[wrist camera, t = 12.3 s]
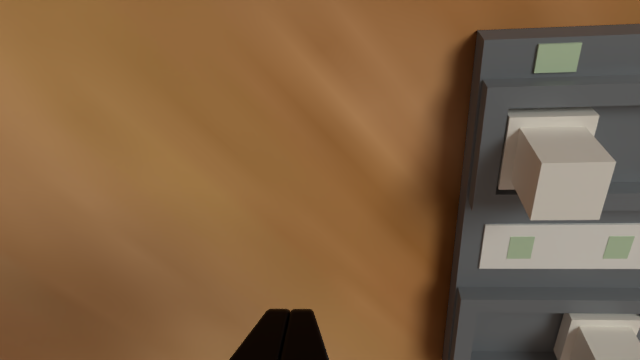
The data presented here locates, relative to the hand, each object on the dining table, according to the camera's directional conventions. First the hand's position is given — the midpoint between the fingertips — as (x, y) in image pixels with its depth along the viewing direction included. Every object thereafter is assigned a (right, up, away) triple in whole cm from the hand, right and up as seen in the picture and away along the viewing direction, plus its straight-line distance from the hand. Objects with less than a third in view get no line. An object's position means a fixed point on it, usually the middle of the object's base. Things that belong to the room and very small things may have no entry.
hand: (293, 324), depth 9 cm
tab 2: (+13, -4, +14) cm, 20 cm away
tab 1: (+9, +4, +9) cm, 14 cm away
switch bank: (+11, +1, +13) cm, 17 cm away
